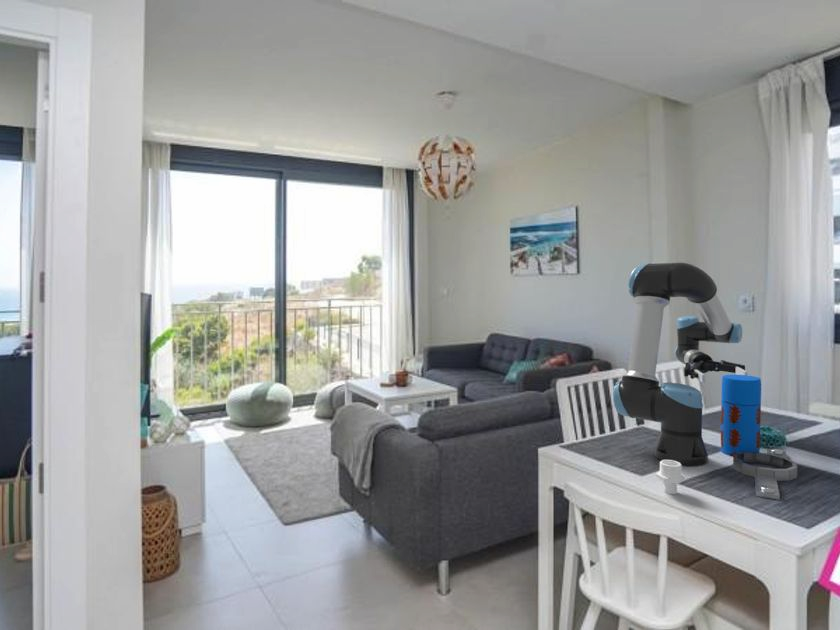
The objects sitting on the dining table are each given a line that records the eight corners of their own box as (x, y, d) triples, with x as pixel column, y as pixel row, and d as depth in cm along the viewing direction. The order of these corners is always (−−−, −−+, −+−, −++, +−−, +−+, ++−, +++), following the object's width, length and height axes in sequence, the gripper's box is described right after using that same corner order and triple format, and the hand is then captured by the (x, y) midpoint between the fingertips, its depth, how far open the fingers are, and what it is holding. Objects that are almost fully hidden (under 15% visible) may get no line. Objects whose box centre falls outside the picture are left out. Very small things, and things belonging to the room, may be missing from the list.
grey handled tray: (732, 491, 135) (732, 481, 135) (733, 447, 170) (733, 439, 169) (805, 504, 127) (805, 492, 126) (790, 455, 161) (790, 446, 161)
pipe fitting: (688, 491, 136) (688, 462, 135) (676, 499, 131) (677, 469, 131) (663, 484, 140) (664, 456, 140) (652, 492, 136) (652, 463, 135)
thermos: (752, 461, 157) (754, 382, 155) (715, 453, 165) (716, 377, 164) (764, 453, 164) (766, 377, 162) (727, 445, 172) (729, 373, 170)
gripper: (733, 368, 191) (764, 385, 171) (664, 373, 195) (686, 390, 174) (733, 349, 190) (764, 363, 170) (663, 354, 194) (685, 369, 173)
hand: (724, 377), depth 172 cm, fingers open, 13 cm apart
